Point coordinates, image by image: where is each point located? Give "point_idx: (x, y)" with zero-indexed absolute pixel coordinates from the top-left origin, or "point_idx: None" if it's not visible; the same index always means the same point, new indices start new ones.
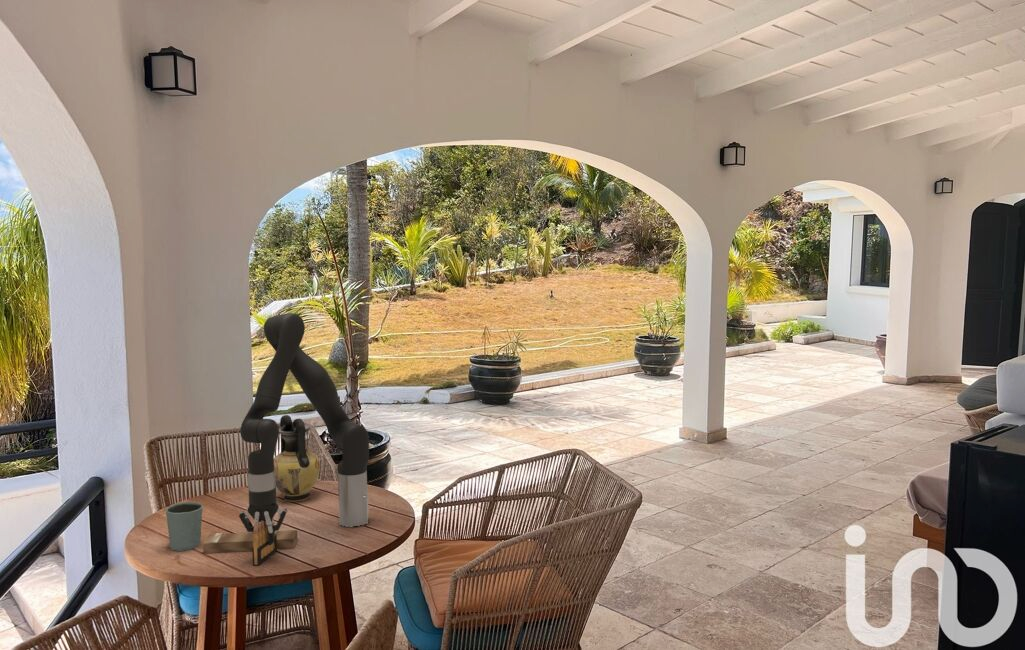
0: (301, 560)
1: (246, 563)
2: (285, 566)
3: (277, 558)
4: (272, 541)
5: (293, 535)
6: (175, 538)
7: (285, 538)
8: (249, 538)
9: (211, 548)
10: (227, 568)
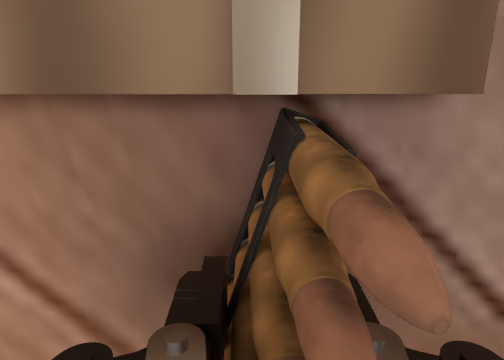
0: (490, 290)
1: (160, 292)
2: None
3: None
4: None
5: (485, 3)
6: None
7: (411, 75)
8: (61, 25)
9: None
10: (69, 342)
